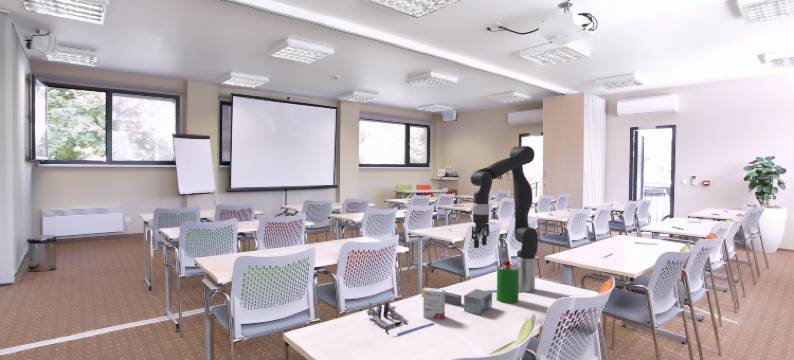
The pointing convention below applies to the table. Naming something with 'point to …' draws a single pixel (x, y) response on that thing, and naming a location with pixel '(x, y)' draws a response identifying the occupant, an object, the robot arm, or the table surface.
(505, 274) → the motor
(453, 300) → the plug rod
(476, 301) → the housing
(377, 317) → the bike brake
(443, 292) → the ink box
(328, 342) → the table surface
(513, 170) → the robot arm
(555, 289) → the table surface
